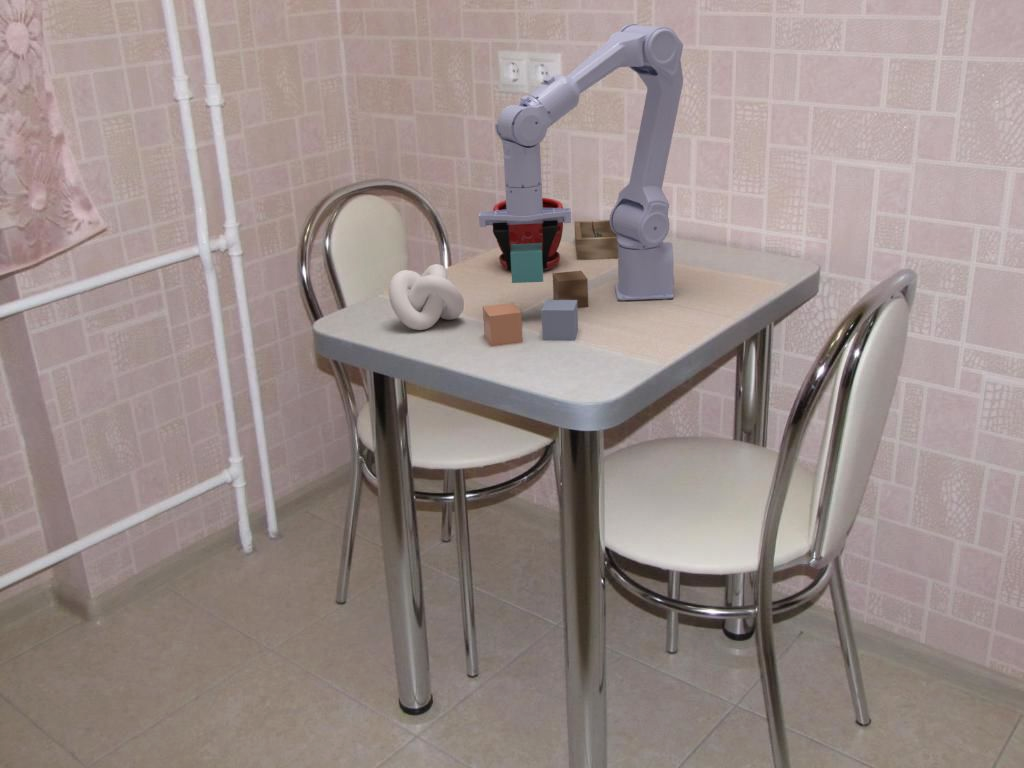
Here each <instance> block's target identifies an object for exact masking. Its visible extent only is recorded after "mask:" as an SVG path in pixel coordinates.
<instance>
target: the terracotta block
mask: <svg viewBox="0 0 1024 768" xmlns="http://www.w3.org/2000/svg"><path fill="white" fill-rule="evenodd" d="M482 319H483V322H482V323H483V336H484V338H485V339H486V341H487V343H488V344H489V345H490V347H497V346H504V345H513V344H519V343H520V344H521V343H523V342H524V341H523V323H522V319H523V318H522V311H521V310H520V308H518V307H517V305H516V304H515V303H514V302H508V303H507V302H506V303H499V304H491V305H483V306H482Z"/></svg>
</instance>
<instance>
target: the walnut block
mask: <svg viewBox="0 0 1024 768" xmlns="http://www.w3.org/2000/svg"><path fill="white" fill-rule="evenodd" d="M588 281H589V280H588V278H587V276H586V275H585V273H584V272H583V270H574V271H564V272H563V271H562V272H561V271H560V272H553V273H552V294H553V295H552V296H553V299H552V300H577V307H578V309H579V308H589V284H588V283H589V282H588Z"/></svg>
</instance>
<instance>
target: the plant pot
mask: <svg viewBox="0 0 1024 768" xmlns="http://www.w3.org/2000/svg"><path fill="white" fill-rule="evenodd" d="M542 205H543V208H564V206H563V203H562V202H561V201H559V200H556V199H553V198H549V197H548V198H547V197H542ZM505 209H507V208H506V199H505V200H503V201H499V202H497V203H496V204H495V205H494V206H493V209H492V211H497V210H505ZM563 229H564V222H558V230H557V233H556V235H555V237H554V240H553V242H552V245H551V248H550V251H549V255H548V261H547V268H546V269H543V271H546V270H549V269H551V268H553V267H555V266H556V265H557V264H558V263H559V261H560V259H561V254H560V252H559V251H558V249H559V247H560V245H561V241H562V237H563V231H564V230H563ZM509 237H510V250H511V244H530V243H542V255H543V235H542V223H533V224H510V225H509ZM496 242H497V245H498V248H499V249H500V251H501V254H500V255H499V258H498V261H499V262H500V264H501V265H502V266H503V267H504V268H505V269H507V264H506V260H505V257H504V254H503V251H502V249H501V247H500V245H499V243H498V241H497V240H496Z"/></svg>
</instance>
